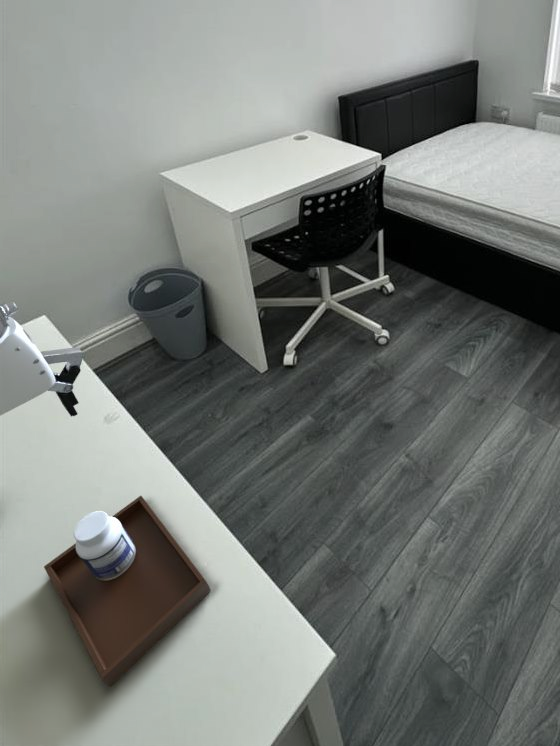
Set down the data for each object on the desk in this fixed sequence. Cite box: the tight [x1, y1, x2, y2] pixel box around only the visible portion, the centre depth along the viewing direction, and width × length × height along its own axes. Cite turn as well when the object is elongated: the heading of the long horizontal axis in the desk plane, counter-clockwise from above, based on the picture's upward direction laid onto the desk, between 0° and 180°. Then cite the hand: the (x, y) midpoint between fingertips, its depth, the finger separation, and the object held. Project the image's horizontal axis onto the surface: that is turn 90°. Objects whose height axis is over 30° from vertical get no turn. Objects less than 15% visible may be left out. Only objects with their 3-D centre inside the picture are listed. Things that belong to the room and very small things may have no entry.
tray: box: [43, 495, 212, 687], centre depth 66 cm, size 19×13×3 cm
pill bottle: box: [73, 510, 136, 581], centre depth 66 cm, size 5×5×10 cm
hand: (27, 434), depth 60 cm, fingers open, 9 cm apart
